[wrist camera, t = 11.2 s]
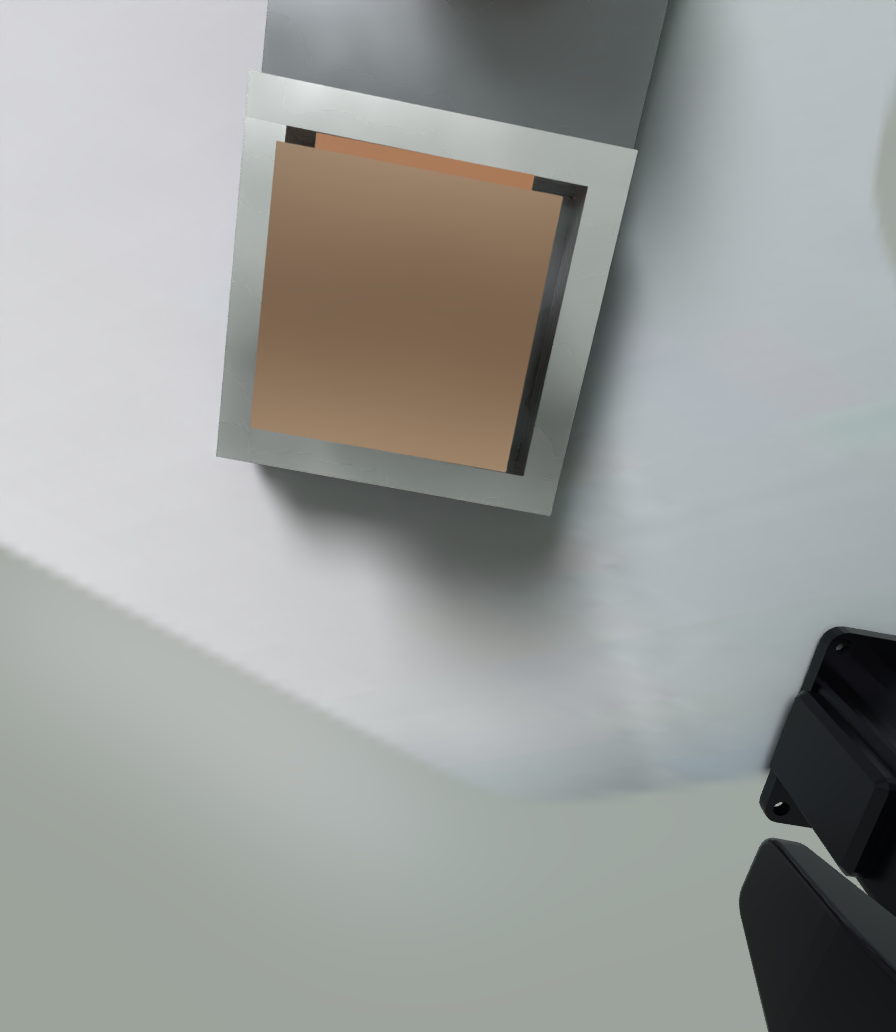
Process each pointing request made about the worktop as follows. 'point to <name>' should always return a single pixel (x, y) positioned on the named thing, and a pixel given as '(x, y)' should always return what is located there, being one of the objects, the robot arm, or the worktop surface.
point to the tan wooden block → (399, 300)
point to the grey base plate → (461, 136)
